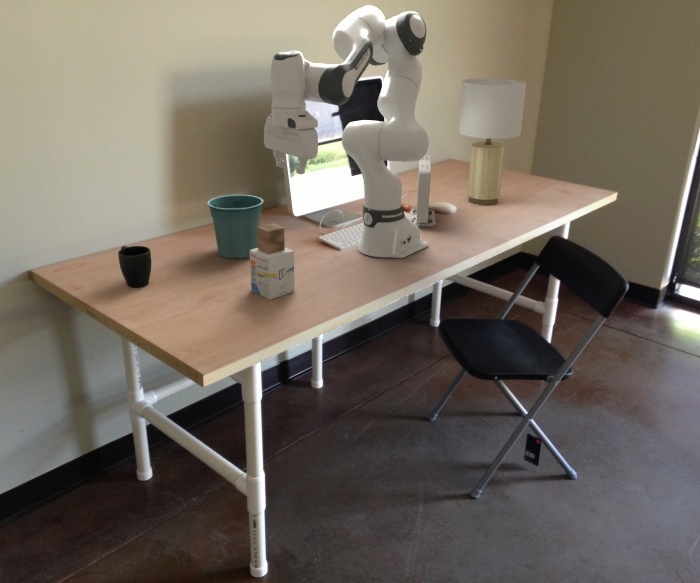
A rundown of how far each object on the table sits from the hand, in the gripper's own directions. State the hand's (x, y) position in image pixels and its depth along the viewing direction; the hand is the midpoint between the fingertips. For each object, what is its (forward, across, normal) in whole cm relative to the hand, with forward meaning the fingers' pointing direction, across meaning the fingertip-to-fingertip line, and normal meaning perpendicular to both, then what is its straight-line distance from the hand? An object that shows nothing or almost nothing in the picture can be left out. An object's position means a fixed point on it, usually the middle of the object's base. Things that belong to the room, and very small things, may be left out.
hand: (290, 170), depth 181 cm
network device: (+29, -14, +66) cm, 74 cm away
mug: (+29, -20, -38) cm, 52 cm away
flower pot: (+29, -23, -4) cm, 38 cm away
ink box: (+29, +8, -12) cm, 33 cm away
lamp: (+29, -15, +100) cm, 105 cm away
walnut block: (+18, +8, -12) cm, 23 cm away
